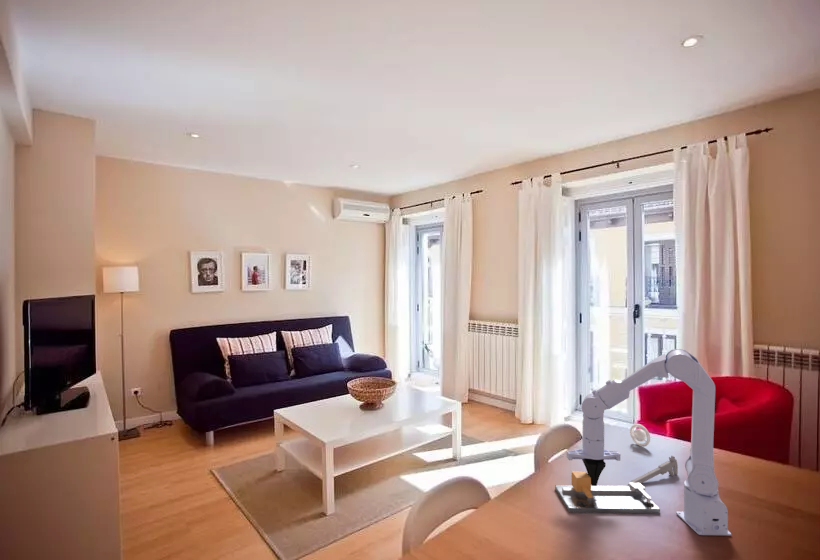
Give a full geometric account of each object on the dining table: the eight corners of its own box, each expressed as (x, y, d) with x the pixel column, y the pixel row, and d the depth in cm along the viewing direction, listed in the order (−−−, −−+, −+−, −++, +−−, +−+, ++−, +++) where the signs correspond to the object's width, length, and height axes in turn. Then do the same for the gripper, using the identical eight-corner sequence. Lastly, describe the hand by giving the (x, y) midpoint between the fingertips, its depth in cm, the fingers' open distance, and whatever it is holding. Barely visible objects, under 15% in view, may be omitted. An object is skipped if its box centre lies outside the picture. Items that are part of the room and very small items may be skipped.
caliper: (674, 474, 134) (674, 454, 134) (677, 475, 133) (677, 456, 133) (627, 486, 126) (627, 465, 126) (630, 488, 125) (630, 467, 125)
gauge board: (660, 513, 112) (660, 500, 112) (569, 512, 113) (569, 499, 112) (637, 489, 124) (637, 478, 124) (555, 489, 125) (555, 477, 124)
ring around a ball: (653, 449, 152) (653, 427, 152) (642, 452, 150) (642, 429, 149) (633, 441, 159) (633, 420, 159) (622, 443, 157) (623, 422, 157)
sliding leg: (597, 504, 114) (597, 486, 114) (582, 503, 114) (582, 486, 114) (585, 487, 122) (585, 471, 122) (571, 487, 122) (571, 471, 122)
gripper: (612, 431, 124) (612, 477, 124) (563, 431, 124) (562, 477, 124) (624, 441, 117) (623, 489, 117) (571, 441, 117) (571, 489, 117)
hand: (593, 484), depth 120 cm, fingers closed
